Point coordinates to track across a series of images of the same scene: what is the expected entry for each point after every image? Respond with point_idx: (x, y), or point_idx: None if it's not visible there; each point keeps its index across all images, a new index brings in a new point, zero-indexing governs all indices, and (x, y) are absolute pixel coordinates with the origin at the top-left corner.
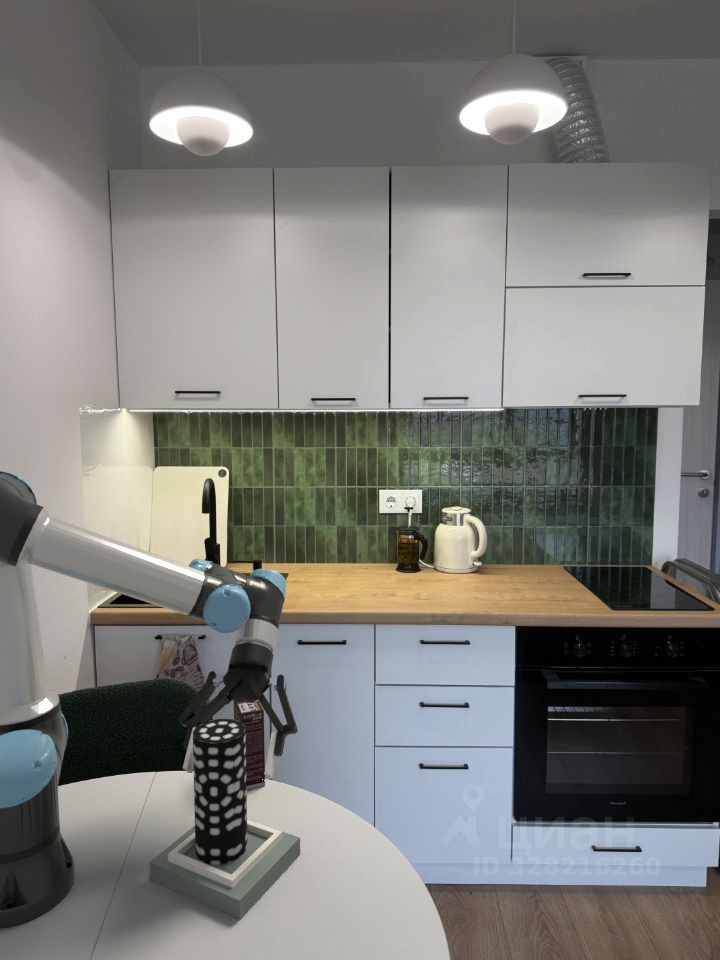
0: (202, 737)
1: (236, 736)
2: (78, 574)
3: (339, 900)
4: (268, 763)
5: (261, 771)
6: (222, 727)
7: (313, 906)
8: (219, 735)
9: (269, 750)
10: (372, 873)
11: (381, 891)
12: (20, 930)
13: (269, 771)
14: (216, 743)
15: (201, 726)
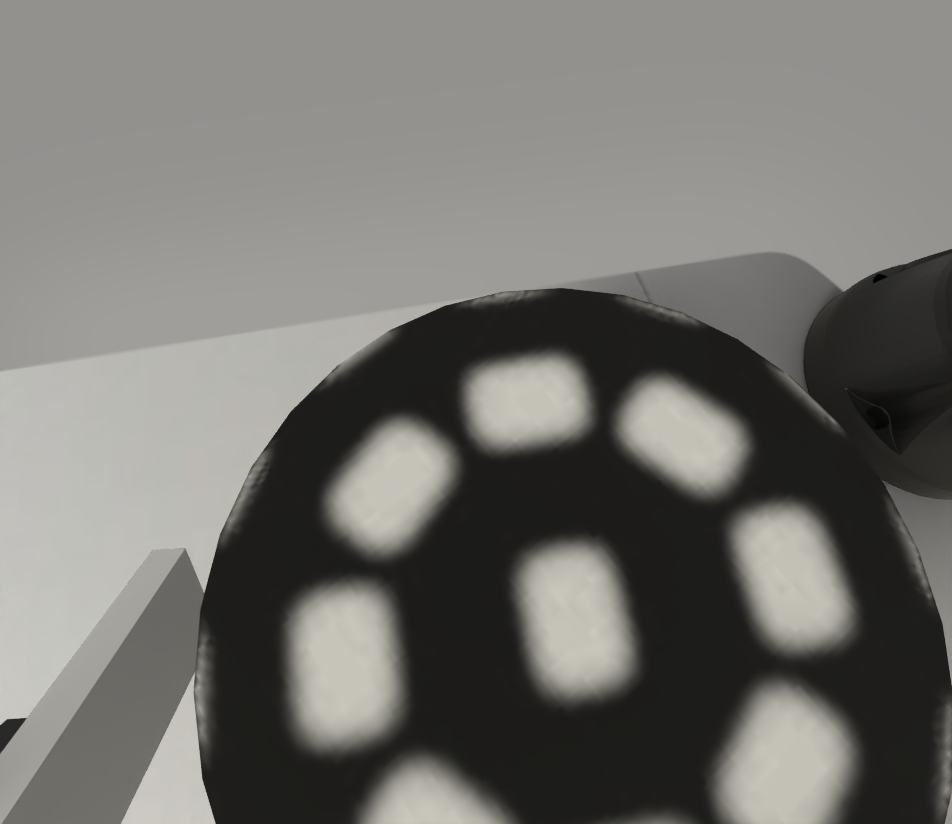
0: (690, 390)
1: (274, 495)
2: None
3: (137, 494)
4: (129, 606)
5: None
6: (571, 725)
7: (203, 463)
8: (509, 483)
9: (73, 705)
10: (40, 617)
11: (19, 548)
12: (815, 291)
13: (142, 564)
14: (463, 302)
15: (891, 690)
